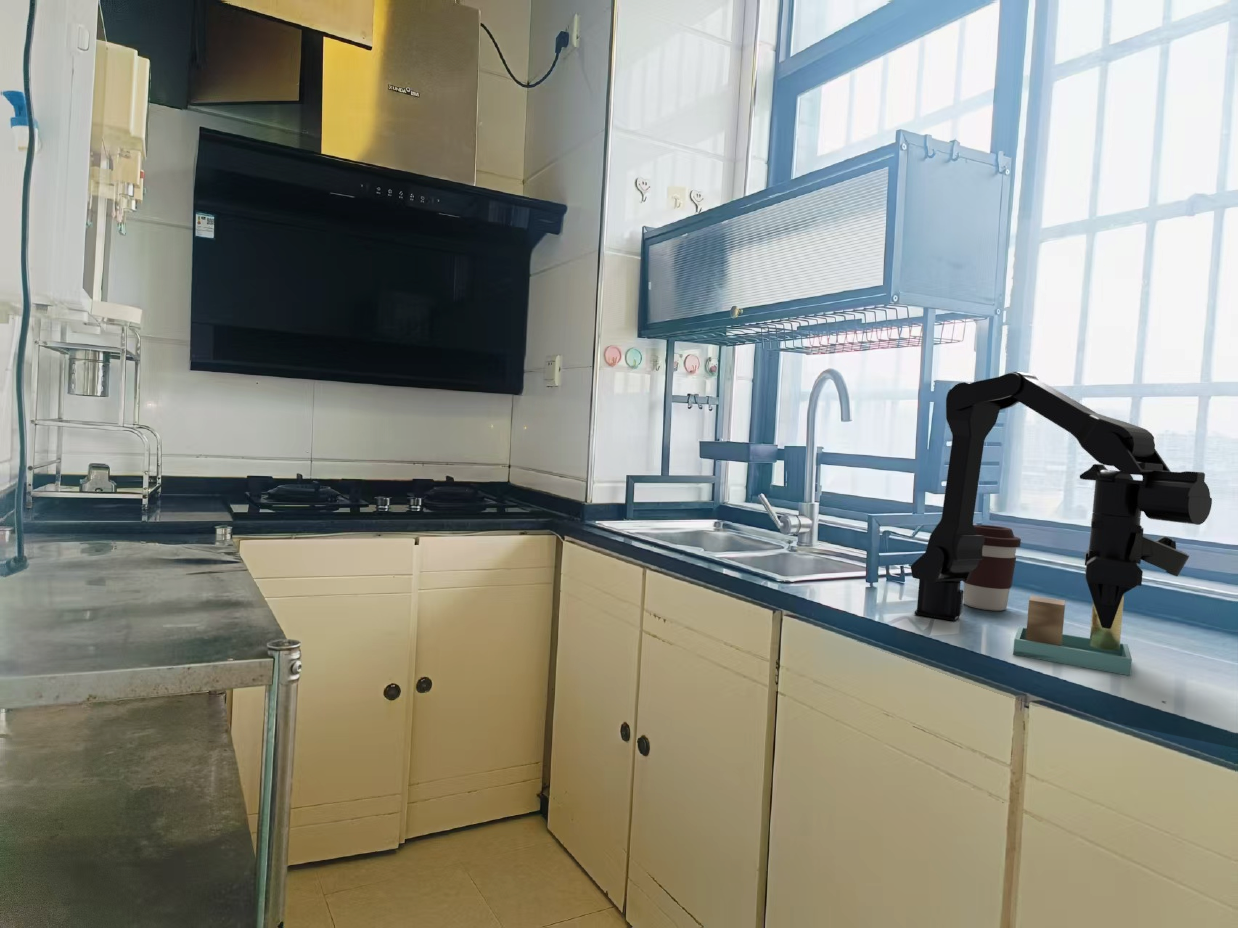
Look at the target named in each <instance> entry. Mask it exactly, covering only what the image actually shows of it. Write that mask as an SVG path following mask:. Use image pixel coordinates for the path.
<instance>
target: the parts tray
mask: <svg viewBox="0 0 1238 928" xmlns="http://www.w3.org/2000/svg"><path fill="white" fill-rule="evenodd" d="M1026 630H1027V627H1025V626H1018V628H1017V630H1016V631H1017V632H1016V634H1015V637H1014V640H1013V641H1014V642H1013V651H1012V655H1014V656H1020V657H1026V658H1031V659H1037V660H1043V661H1048V662H1052V663H1058V664H1063V665H1064V664H1065V665H1071V666H1075V667H1080V668H1081V667H1082V668H1087V669H1092V670H1097V671H1104V672H1109V673H1114V674H1119V675H1126V676H1131V673H1132V671H1131V670H1132V664H1133V663H1132V661H1133V659H1132V654H1131V651H1130V647H1129V645H1128V643H1122V642H1120V650H1105V649H1099V648H1095V647H1092V646H1090V645H1089V644H1090V637H1085V636H1080V635H1072V634H1067V633H1063V634H1062V645H1061V646H1057V645H1051V644H1045V643H1039V642H1034V641H1028V640H1026Z"/></svg>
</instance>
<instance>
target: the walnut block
mask: <svg viewBox="0 0 1238 928" xmlns="http://www.w3.org/2000/svg"><path fill="white" fill-rule="evenodd" d="M1027 610H1028V611H1027V618H1026V628H1027V630H1026V640H1028V641H1034V642H1039V643H1045V644H1051V645H1057V646H1061V645H1062V634H1064V633H1063V631H1064V622H1065V621H1064V620H1065V610H1066V600H1064V599H1056V598H1051V597H1043V596H1037V595H1030V597H1029V599H1028V609H1027Z"/></svg>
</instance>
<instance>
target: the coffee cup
mask: <svg viewBox="0 0 1238 928" xmlns="http://www.w3.org/2000/svg"><path fill="white" fill-rule="evenodd" d="M973 526H974V528H975V531H976V533H977V535H983V536H984V537H985V541H984V545H983V548H982V556H983V559H982V560H979V563H978V566H977V567H976V568H975V569H974V570H972V572H971V575H970V577H969V579H968V581H962V582H963V591H964V592H963V603H964V604H965V605H966V606H967V607H971V608H974V609H978V610H985V611H995V612H997V611H999V612H1000V611H1005V610H1006V609H1008V603H1009V597H1010V596H1009V594H1010V590H1011V589H1012V585H1013V579H1014V574H1015V567H1016V563H1017V557H1016V554H1017V553H1016V552H1017V548H1019V547H1021V543H1022V540H1021V538H1020V537H1017V536H1015V535H1014V532H1013V529H1012V528H1009V527H1006V526H998V525H987V524H973Z"/></svg>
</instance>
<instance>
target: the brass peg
mask: <svg viewBox="0 0 1238 928" xmlns="http://www.w3.org/2000/svg"><path fill="white" fill-rule="evenodd" d="M1124 599H1125V595H1123V597H1122V599H1121V602H1120V605H1119V607H1118V610H1117V613H1116V616H1115V619H1114V621H1113V624H1112V627H1111V628H1110V629H1107V628H1102V626H1101V624H1100V620H1099V617H1098V614H1097V611H1096V608H1095V605H1094V602H1093V601H1092V608H1091V620H1090V621H1091V623H1090V631H1089V632H1090V634H1089V638H1090V644H1089V645H1090V646H1092V647H1095V648H1099V649H1105V650H1120V643H1121V635H1122V625H1123V624H1122V623H1123V611H1124V603H1125V602H1124V601H1125V600H1124Z"/></svg>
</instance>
